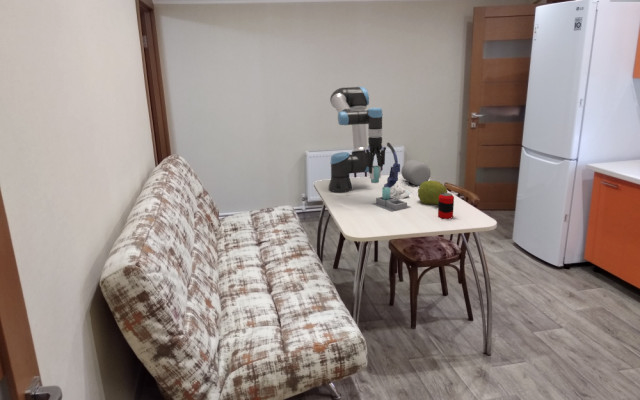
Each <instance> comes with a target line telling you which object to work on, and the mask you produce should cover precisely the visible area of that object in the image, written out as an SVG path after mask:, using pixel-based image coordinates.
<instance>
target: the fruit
mask: <svg viewBox="0 0 640 400" xmlns="http://www.w3.org/2000/svg"><path fill="white" fill-rule="evenodd" d="M441 193H448V188H447V187H446V186H445V185H444V184H443V183H442V182H441V181H436V180H432V179H429V180H428V181H426V182H423V183H422V184H421V185H420V186H418V188H417V197H418V199H419V200H420V201H421V203H422V204H426V205H434V206H438V202H439V196H440V195H441Z"/></svg>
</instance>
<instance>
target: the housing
mask: <svg viewBox="0 0 640 400" xmlns="http://www.w3.org/2000/svg"><path fill="white" fill-rule="evenodd" d="M372 205H373V206H376V207H378V208H381V209H383V210H386V211H389V212H392V213H394V212H397V211H401V210H402V211H403V210H406V209H410V208H411V209H412V206H410V205H408V202H406V201H404V200H402V199H397V198H396V199H395V198H392V197H390V200H386V201H385V200H382V196H380V197H376V198H375V202H374V203H372Z"/></svg>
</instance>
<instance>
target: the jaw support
mask: <svg viewBox="0 0 640 400" xmlns="http://www.w3.org/2000/svg"><path fill="white" fill-rule="evenodd" d="M409 195H410V192H409V191H408V190H407V189H406V188H405V187H403V186H401V183H399V182H396V183H395V185H393V186H392V187H391V188H390V197H392V198H395V199H396V200H397V199H398V200H403V199H405V198H406V197H407V198H408V196H409Z"/></svg>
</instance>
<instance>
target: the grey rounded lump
mask: <svg viewBox="0 0 640 400" xmlns="http://www.w3.org/2000/svg"><path fill="white" fill-rule="evenodd" d="M400 172H401V176H402V178H403V179H404V180H405V181H407V182H408V183H410V184H412V185H414V186H416V187H417V186H418V187H420V185H421V184H422V183H423V182H426V181H430V177H431V175H432V173H431V168H429V166H428V165H427V164H426V163H423V162H421V161H419V160H416V159H409V160H407V161H405V162H404V164H403V165H402V167H401V170H400Z"/></svg>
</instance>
